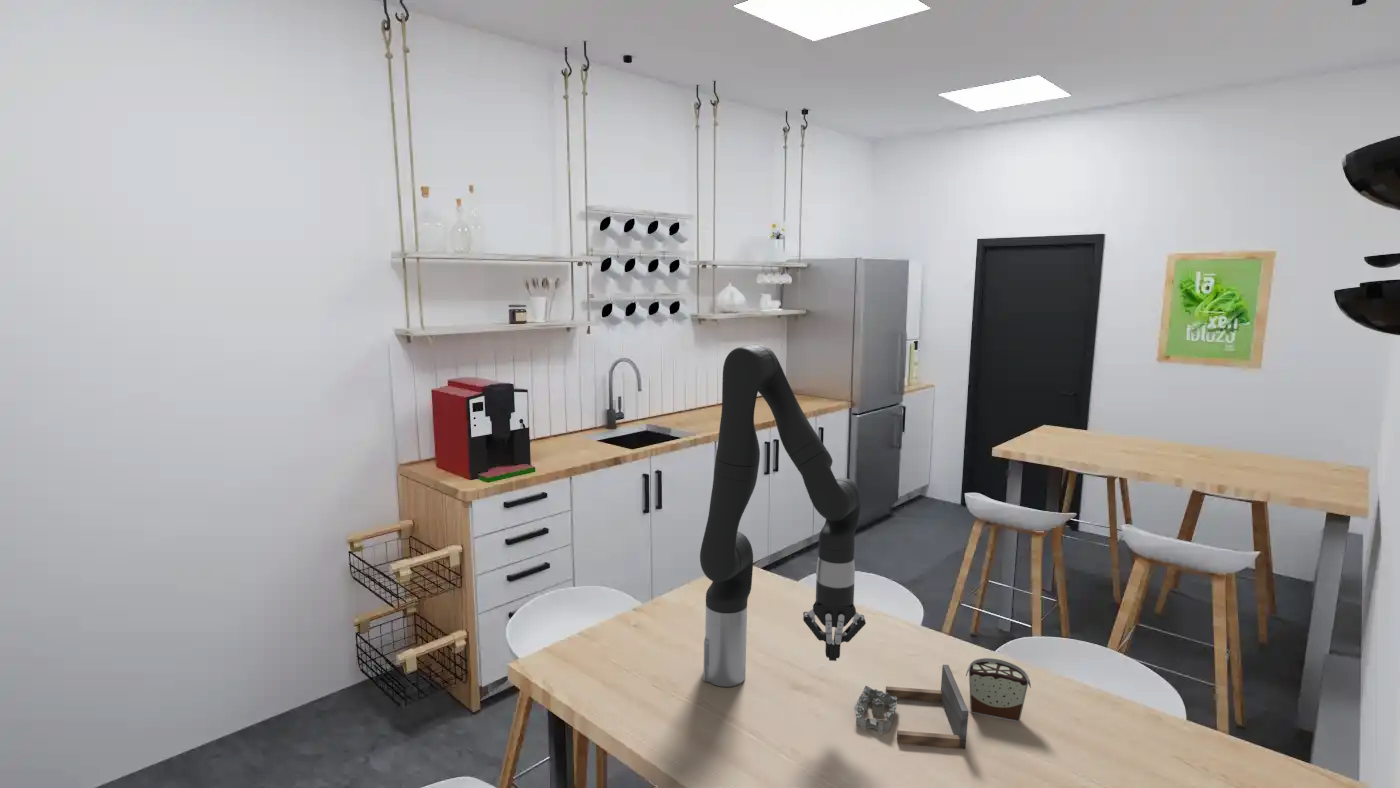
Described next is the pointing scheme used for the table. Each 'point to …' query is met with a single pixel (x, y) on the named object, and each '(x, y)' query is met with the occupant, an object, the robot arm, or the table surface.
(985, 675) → the food container
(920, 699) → the display stand
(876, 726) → the egg carton
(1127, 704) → the table surface
